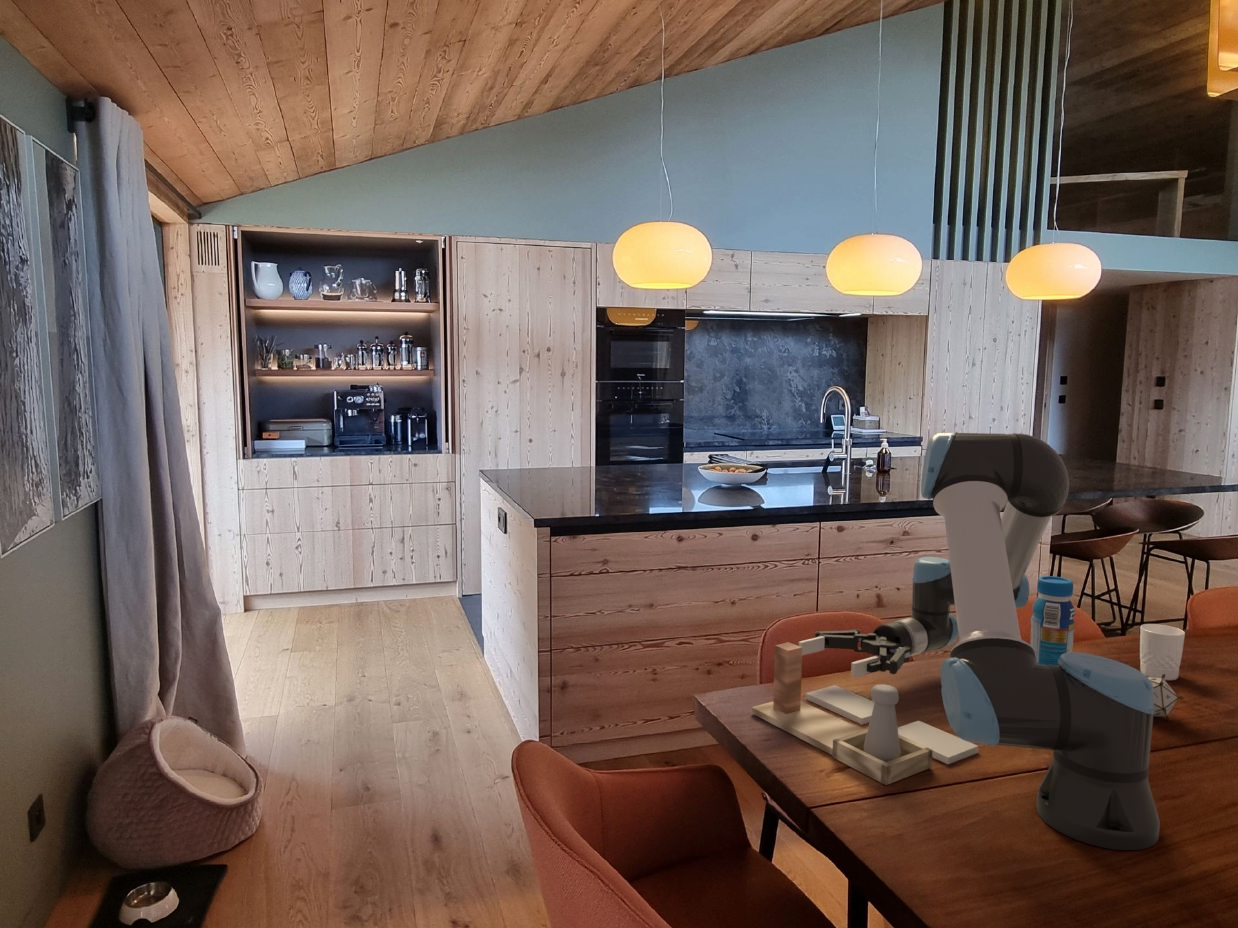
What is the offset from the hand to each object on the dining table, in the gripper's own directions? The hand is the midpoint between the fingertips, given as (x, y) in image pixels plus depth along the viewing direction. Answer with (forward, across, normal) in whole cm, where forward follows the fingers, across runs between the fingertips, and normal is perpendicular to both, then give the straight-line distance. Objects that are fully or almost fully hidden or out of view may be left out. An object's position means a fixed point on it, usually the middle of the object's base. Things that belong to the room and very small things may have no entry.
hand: (825, 659), depth 157 cm
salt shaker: (+10, -22, -9) cm, 26 cm away
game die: (-48, -36, -9) cm, 61 cm away
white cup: (-73, -26, -10) cm, 78 cm away
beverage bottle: (-56, -12, -10) cm, 58 cm away
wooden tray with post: (+10, -12, -9) cm, 18 cm away
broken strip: (-3, -12, -9) cm, 15 cm away
